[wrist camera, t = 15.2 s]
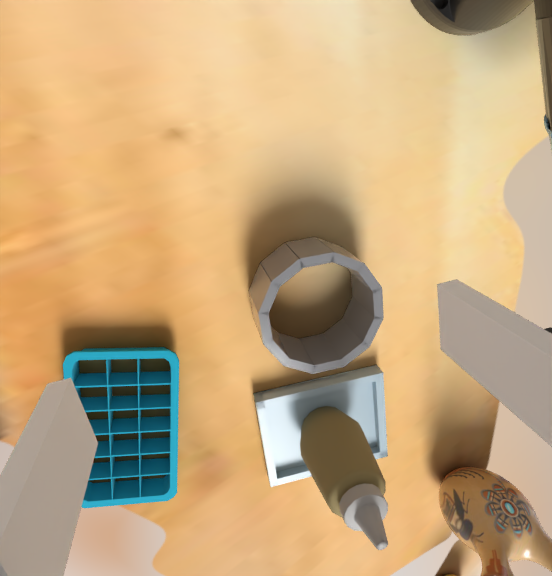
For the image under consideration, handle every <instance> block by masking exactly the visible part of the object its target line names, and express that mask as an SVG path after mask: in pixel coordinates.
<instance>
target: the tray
mask: <svg viewBox="0 0 552 576" xmlns="http://www.w3.org/2000/svg"><path fill="white" fill-rule="evenodd" d="M253 395H254V401H255V406H256V412H257V417H258V423H259V429H260V434H261V440H262V446H263V451H264V457H265V463H266V468H267V474H268V478H269V482H270V486H271V487H273V486H276V485H280V484H284V483H288V482H292V481H295V480H299V479H303V478H307V477H311V476H312V475H311V473H310V471H309V469H308V468H307V466H306V464H305V462H304V460H303V458H302V456H301V451H300V439H301V428H302V424H303V421H304V419H305V418H306V417H307V415H308V414H309V413H310V412H312V411H313V410H315V409H317V408H319V407H324V406H330V407H336V408H337V409H339V410H340V411H342V412H343V413H345V414H346V415H348V416H349V417H351V418H352V419H354V420H355V421H357V422H358V423H359V425H360V426H361V428H362V430H363V432H364V434H365V436H366V439H367V441H368V443H369V446H370V448H371V450H372V453H373V455H374V457H375V459H379V458H383V457H387V456H388V455H387V437H386V418H385V399H384V380H383V372H382V371H381V370H380V368H379V367H378V366H377V365H373V366H369V367H365V368H361V369H356V370H352V371H348V372H343V373H339V374H335V375H330V376H326V377H322V378H317V379H313V380H309V381H304V382H300V383H296V384H291V385H287V386H283V387H278V388H274V389H270V390H266V391H261V392H257V393H253Z"/></svg>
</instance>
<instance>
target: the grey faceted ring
mask: <svg viewBox="0 0 552 576" xmlns="http://www.w3.org/2000/svg"><path fill="white" fill-rule="evenodd" d="M331 262H333V263H336V264H339V265H341V266H344V267H347V269H348V270H349V271H350V273H351V285H352V298H351V300H350V302H349V305H348V307H347V309H346V311H345V313H344V315H343V318H342V319H341V320H339V321H338V322H337V323H336V324H334V325H333V326H332V327H331V328H329V329H328V330H327V331H326V332H324V333H323V334H319V335H314V336H309V337H305V338H300V339H299V338H295V337H292V336H288V335H285V334H282V333H278V332H276V331H275V329H274V328H273V327H272V326H271V325H270V319H269V312H270V309H271V307H272V304H273V302H274V300H275V297H276V295H277V292H278V290H279V288H280V286H282V285H283V284H284V283H285V282H286V281H288V280H289V279H290V278H291V277H293V276H294V275H295V274H296V273H298V272H299V271H300V270H301V269H302V268H305V267H310V266H315V265H321V264H326V263H331ZM249 296H250V302H251V308H252V314H253V319H254V322H255V324H256V327H257V329H258V332H259V334H260V337H261V339H262V342H263V344H264V345H265V347H266V348H267V349H268V350H269V351H270V352H271V353H272V354H273V355H274V356H275V357H276V358H277V359H278V361H279V362H280V363H281V364H282V365H283V366H285V367H289V368H293V369H296V370H300V371H304V372H307V373H311V374H315V373H320V372H324V371H328V370H333V369H337V368H342V367H345V366H346V365H347V364H348V363H350V362H351V361H352V360H354V359H355V358H356V357H357V356H359V355H360V354H361V353H362V352H364V351H365V350H366V349H367V348H369V346H370V345H371V343H372V341H373V339H374V337H375V335H376V333H377V331H378V329H379V326H380V324H381V322H382V320H383V318H384V317H383V297H382V287H381V286H380V284H379V283H378V281H377V280H376V279H375V277H374V276H373V275H372V273H371V272H370V270H369V269H368V268H367V266H366V265H365V263H363V262H362V261H360V260H359V259H358V258H356V257H355V256H354V255H352V254H351V253H350V252H348V251H347V250H346V249H344V248H343V247H341V246H338V245H336V244H333V243H330V242H328V241H325V240H322V239H320V238H317V237H311V238H306V239H300V240H295V241H290V242H285V243H283V244H282V245H281V246H280V247H278V248H277V249H276V250H275V251H274V252H272V253H271V254H270V255H269V256H267V257H266V258H265V259H264V260H263V261H261V262H260V264H259V266H258V269H257V271H256V274H255V276H254V279H253V281H252V284H251V286H250V289H249Z"/></svg>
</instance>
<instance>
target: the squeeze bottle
mask: <svg viewBox="0 0 552 576" xmlns="http://www.w3.org/2000/svg"><path fill="white" fill-rule="evenodd" d="M300 451H301V456H302V458H303V460H304V462H305V464H306V466H307V468H308V469H309V471H310V473H311V475H312V477H313V479H314V480H315V482H316V484H317V486H318V488H319V490H320V492H321V493H322V495H323V497H324V499H325V501H326V503H327V504H328V506H329V508H330V509H331V511H332V512H333V513H335V514H337V515H339V516H340V517H343V519H344V522H345V523H346V525H347V526H348V527H349V528H351V529H353V530H356V531H363V532H364V533H365V534H366V536H367V537H368V538H369V539H370V541H371V542H372V543H373V545H374V546H375V547H376V548H377V549H378V550H383V549H385V548H386V547H387V545H388V541H387V537H386V533H385V529H384V525H383V521H382V520H383V519H384V518H385V516H386V514H387V511H388V504H387V502H386V500H385V498H384V496H383V495H384V493H385V480H384V478H383V475H382V473H381V471H380V469H379V466H378V464H377V462H376V459H375V457H374V455H373V453H372V450H371V448H370V446H369V443H368V441H367V439H366V436H365V434H364V432H363V430H362V428H361V426H360V425H359V423H358V422H357V421H355V420H354V419H352V418H351V417H349V416H348V415H346V414H345V413H343V412H342V411H340V410H339V409H337V408H336V407H330V406H324V407H319V408H317V409H315V410H313V411H312V412H310V413H309V414H308V415H307V417H306V418H305V419H304V421H303V424H302V428H301V439H300Z"/></svg>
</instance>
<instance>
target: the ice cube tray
mask: <svg viewBox="0 0 552 576" xmlns="http://www.w3.org/2000/svg"><path fill="white" fill-rule="evenodd" d="M153 358H165V359H166V360H167V361H169V363H170V371H153V372H141V361H140V359H153ZM111 359H137V364H138V372H116V373H112V372H111ZM79 360H106V369H107V373H80V374H79ZM63 372H64V379H68V378H71V379H72V381H73V384H74V386H75V388H76V391H77V393H78V396H79V398H80V401H81V403H82V405H83V408H84V410H85V412H98V411H108V417H109V419H96V420H89V422H90V425H91V427H92V429H93V432H94V434H95V435H108V434H109V441H97V442H98V445H97V449H96V453H95V457H94V458H102V457H110V462H98V463H93V465H92V468H91V472H90V476H89V480H99V479H111V482H101V483H92V482H90V481H88V484H87V487H86V491H85V495H84V499H83V503H82V507H83V508H92V507H103V506H114V505H126V504H137V503H148V502H159V501H168V500H170V499H171V498H173V497H174V496H175V495H176V493H177V458H178V395H179V359H178V357H177V355H176V353H175V352H173V351H171V350H169V349H166V348H165V347H147V348H85V349H83V350H82V351H74V352H72V353H70V354H68V355H67V356H66V358H65V361H64V363H63ZM142 385H170V394H154V395H141V386H142ZM113 386H138V395H127V396H112V387H113ZM84 387H107V393H108V396H101V397H81V390H80V388H84ZM164 408H170V416H157V417H141V410H142V409H164ZM120 410H138V417H137V418H116V419H113V411H120ZM161 431H170V432H169V437H164V438H147V439H142V433H143V432H161ZM126 433H139V439H129V440H114V434H126ZM162 453H169V458H157V459H142V455H147V454H162ZM132 455H139V460H128V461H115V457H117V456H132ZM165 474H167V475H166V476H165V477H163V478H153V479H142V476H152V475H165ZM138 476H139V480H127V481H116V478H125V477H138Z"/></svg>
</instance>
